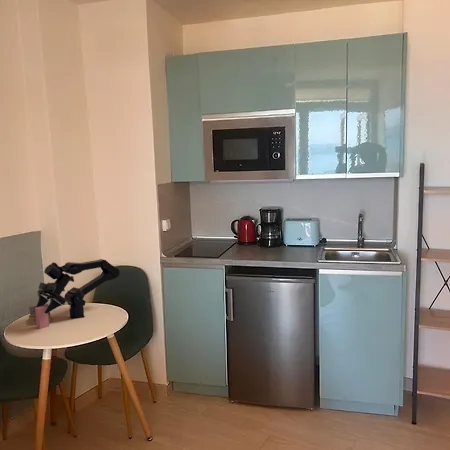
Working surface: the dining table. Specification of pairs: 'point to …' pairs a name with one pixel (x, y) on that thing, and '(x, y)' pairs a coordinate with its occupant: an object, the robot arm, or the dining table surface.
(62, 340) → the dining table surface
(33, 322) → the rack
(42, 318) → the red rectangular block
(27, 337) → the dining table surface
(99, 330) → the dining table surface
